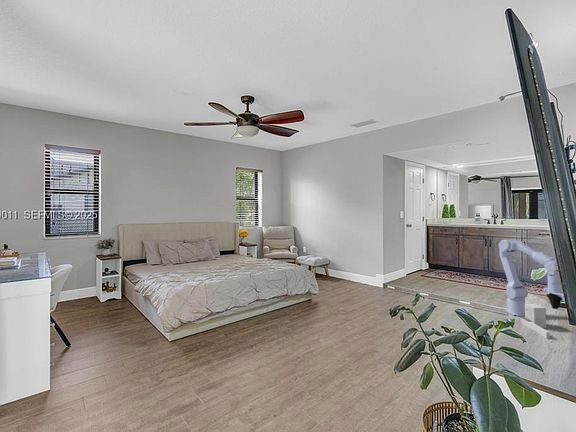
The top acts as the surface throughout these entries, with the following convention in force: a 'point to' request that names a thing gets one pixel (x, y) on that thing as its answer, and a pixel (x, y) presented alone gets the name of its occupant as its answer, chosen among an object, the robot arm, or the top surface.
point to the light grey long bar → (535, 327)
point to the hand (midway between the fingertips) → (555, 308)
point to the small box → (536, 314)
